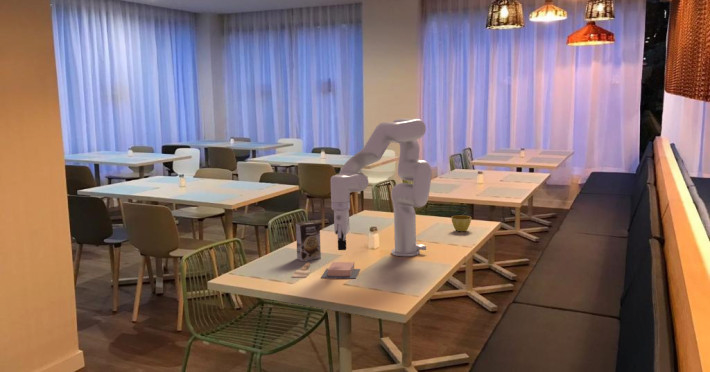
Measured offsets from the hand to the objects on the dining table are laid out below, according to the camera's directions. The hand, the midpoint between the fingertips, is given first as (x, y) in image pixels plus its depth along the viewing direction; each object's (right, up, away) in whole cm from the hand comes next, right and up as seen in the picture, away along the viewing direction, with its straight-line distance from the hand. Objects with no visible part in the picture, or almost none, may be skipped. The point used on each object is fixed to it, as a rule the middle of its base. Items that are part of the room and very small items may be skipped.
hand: (342, 249), depth 245 cm
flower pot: (+60, +3, +63) cm, 87 cm away
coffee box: (-15, -6, +20) cm, 26 cm away
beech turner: (-16, -9, +1) cm, 18 cm away
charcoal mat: (0, -9, -4) cm, 10 cm away
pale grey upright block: (+1, -7, +3) cm, 7 cm away
